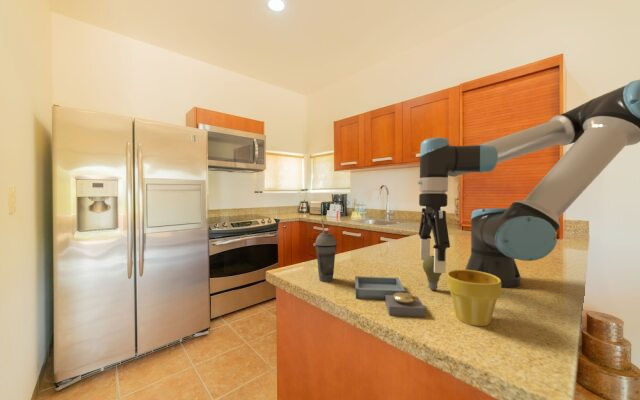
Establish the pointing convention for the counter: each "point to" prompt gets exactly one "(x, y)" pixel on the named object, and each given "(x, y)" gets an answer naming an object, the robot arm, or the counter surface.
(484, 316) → the plant pot
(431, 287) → the light bulb
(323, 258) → the beverage cup
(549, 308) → the counter surface
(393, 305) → the tester
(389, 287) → the tray
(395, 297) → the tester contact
